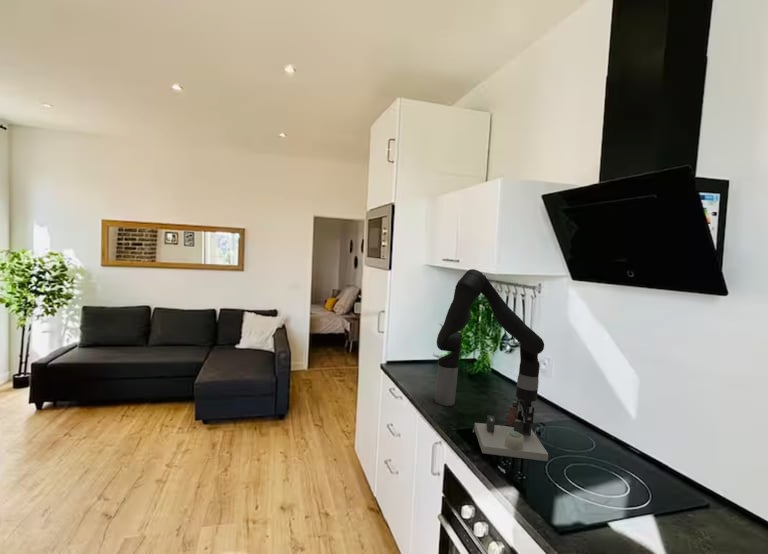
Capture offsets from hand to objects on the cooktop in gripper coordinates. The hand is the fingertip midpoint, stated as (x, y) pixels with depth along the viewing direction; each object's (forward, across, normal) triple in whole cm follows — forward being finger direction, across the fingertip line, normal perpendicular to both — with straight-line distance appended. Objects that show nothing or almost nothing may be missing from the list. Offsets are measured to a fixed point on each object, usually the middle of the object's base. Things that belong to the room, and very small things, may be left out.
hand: (522, 428), depth 152 cm
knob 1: (+2, 0, +12) cm, 12 cm away
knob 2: (+2, 0, 0) cm, 2 cm away
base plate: (+4, -5, +6) cm, 9 cm away
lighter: (+5, +15, -2) cm, 16 cm away
